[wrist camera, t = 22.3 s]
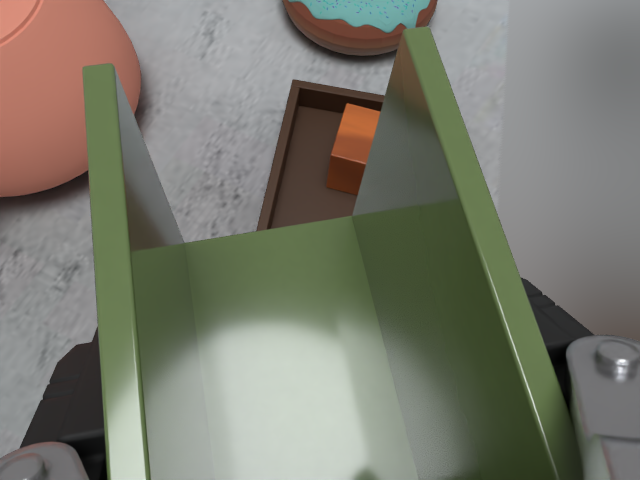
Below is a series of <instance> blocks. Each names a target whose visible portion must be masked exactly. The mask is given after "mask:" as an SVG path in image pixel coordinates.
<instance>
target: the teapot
mask: <svg viewBox="0 0 640 480" xmlns="http://www.w3.org/2000/svg"><path fill="white" fill-rule="evenodd" d="M106 63H112V64H113V65H114V66H115V69H116V71H117V74H118V76H119V79H120V81H121V84H122V86H123V89H124V92H125V94H126V97H127V99H128V102H129V104H130V107H131V109H132V112H133V114H135V111H136V108H137V105H138V101H139V95H140V89H141V71H140V65H139V61H138V58H137V55H136V52H135V50H134V47H133V45H132V42H131V40H130V38H129V37H128V35H127V33H126V31H125V29H124V28H123V26H122V25H121V23H120V21H119V20H118V19H117V18H116V16H115V15H114V14H113V12H112V11H111V10H110V8H109V7H108V6H107V5H106V3H105V2H104V1H103V0H0V197H9V196H20V195H26V194H31V193H37V192H40V191H43V190H47V189H50V188H53V187H56V186H58V185H61V184H63V183H65V182H68V181H70V180H72V179H74V178H75V177H77V176H79V175H81V174H83V173H84V172H86V171H87V170H88V158H87V141H86V125H85V109H84V92H83V76H82V68H83V67H84V66H89V65H98V64H106Z"/></svg>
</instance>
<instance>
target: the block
mask: <svg viewBox="0 0 640 480" xmlns="http://www.w3.org/2000/svg"><path fill="white" fill-rule="evenodd" d="M379 115H380V111H376V110H372V109H368V108H364V107H360V106H356V105H353V104H349V103H347V104H346V106H345V109H344V113H343V116H342V119H341V122H340V126H339V129H338V132H337V135H336V139H335V142H334V145H333V148H332V152H331V155H330V162H329V169H328V176H327V183H326V187H328V188H332V189H335V190H339V191H343V192H347V193H350V194H354V195H358V192H359V188H360V185H361V181H362V177H363V174H364V170H365V166H366V163H367V159H368V155H369V152H370V148H371V145H372V141H373V137H374V134H375V130H376V126H377V123H378V119H379Z"/></svg>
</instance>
